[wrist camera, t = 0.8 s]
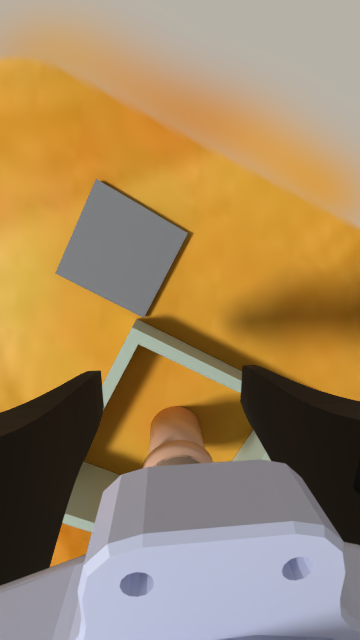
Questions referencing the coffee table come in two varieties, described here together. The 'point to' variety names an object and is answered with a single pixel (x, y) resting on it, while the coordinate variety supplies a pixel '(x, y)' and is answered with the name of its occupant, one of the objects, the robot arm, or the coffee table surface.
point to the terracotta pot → (176, 439)
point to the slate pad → (120, 250)
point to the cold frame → (90, 476)
